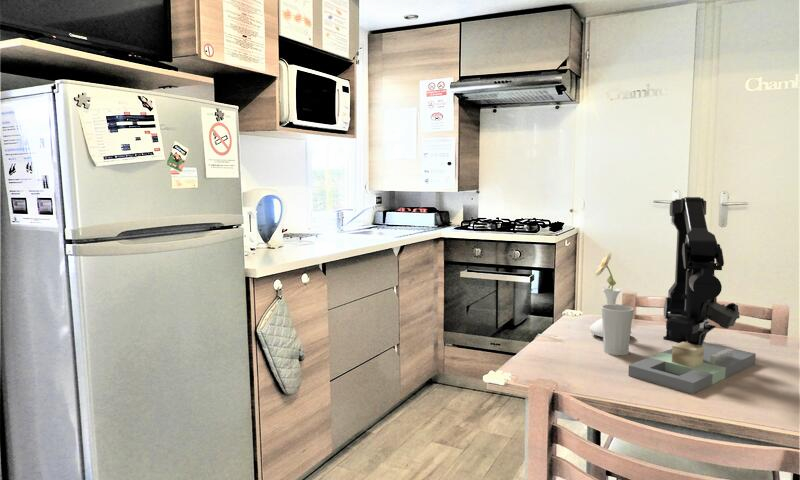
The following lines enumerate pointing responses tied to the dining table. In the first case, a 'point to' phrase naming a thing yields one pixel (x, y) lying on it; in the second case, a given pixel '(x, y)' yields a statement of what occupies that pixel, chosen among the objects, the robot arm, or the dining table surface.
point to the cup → (616, 328)
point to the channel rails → (720, 356)
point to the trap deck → (690, 369)
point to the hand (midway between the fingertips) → (695, 354)
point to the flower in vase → (609, 292)
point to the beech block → (687, 354)
